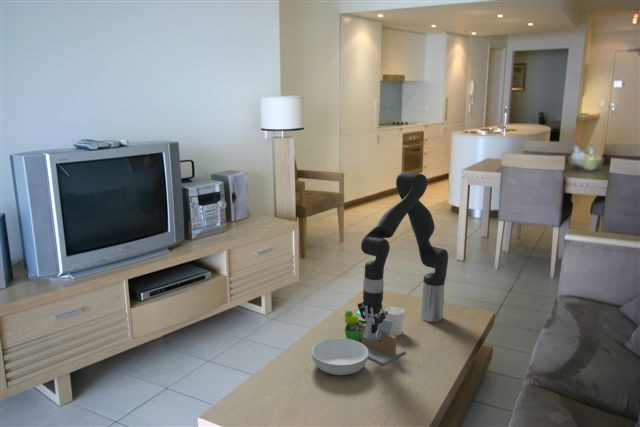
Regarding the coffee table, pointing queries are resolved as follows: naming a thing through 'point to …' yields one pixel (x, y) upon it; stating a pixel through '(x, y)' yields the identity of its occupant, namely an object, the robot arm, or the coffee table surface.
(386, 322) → the slotted plate
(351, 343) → the serving bowl
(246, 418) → the coffee table surface
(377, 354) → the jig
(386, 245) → the robot arm
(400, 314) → the white cup
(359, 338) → the fruit basket
